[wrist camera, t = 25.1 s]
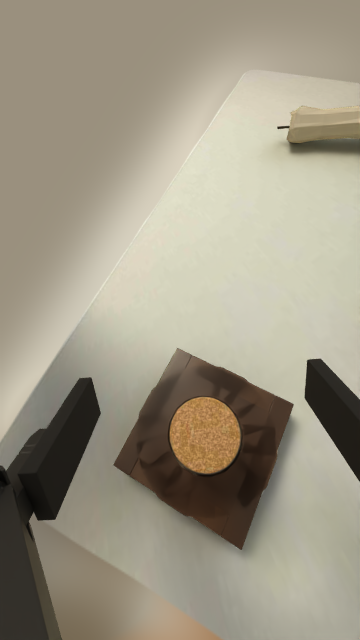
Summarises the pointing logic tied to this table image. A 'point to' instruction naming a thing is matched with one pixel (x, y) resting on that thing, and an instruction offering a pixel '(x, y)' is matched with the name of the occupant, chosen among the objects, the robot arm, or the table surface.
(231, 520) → the socket plate
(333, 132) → the faceted club
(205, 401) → the bottle
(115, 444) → the table surface
